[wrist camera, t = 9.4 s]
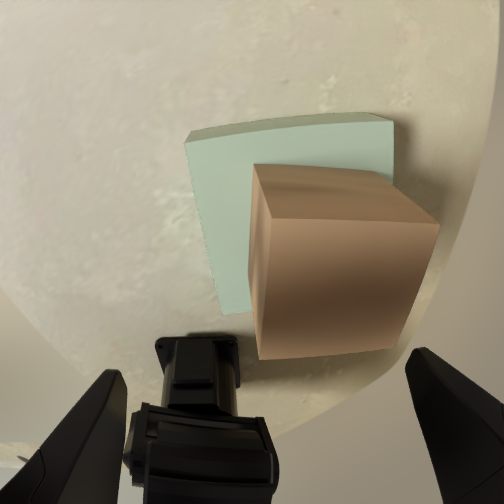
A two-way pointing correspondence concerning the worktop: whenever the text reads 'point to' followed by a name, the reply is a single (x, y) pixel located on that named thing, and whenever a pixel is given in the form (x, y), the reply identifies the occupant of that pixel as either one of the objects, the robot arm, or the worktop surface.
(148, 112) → the worktop surface
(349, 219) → the walnut cube
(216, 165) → the sage box
